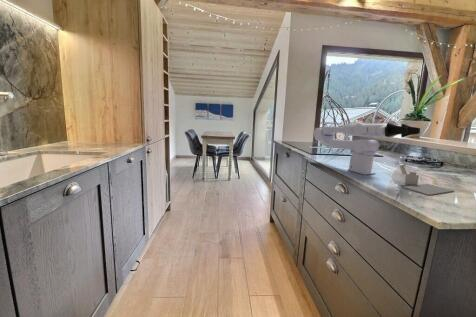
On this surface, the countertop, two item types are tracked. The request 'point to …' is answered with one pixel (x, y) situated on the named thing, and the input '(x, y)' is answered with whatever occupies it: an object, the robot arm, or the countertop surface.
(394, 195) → the countertop surface
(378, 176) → the countertop surface
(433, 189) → the mat
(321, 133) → the robot arm
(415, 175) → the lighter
